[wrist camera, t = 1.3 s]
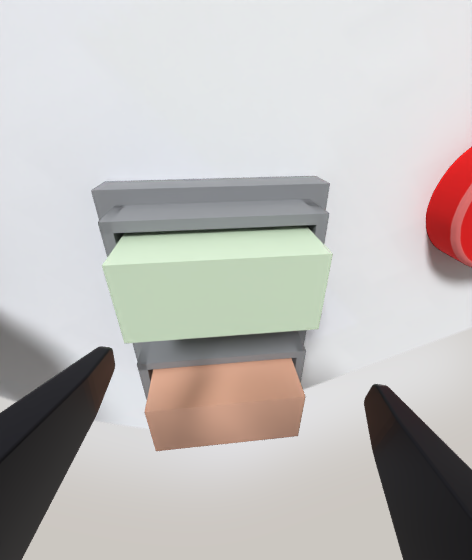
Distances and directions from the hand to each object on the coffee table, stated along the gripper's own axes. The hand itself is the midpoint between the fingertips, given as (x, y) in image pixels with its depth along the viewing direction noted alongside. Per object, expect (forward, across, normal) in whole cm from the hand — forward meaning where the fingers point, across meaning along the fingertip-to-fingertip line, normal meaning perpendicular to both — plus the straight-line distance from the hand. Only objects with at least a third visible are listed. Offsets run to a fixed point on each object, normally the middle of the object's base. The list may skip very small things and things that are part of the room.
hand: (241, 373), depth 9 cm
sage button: (+8, +2, 0) cm, 8 cm away
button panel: (+12, +2, +5) cm, 14 cm away
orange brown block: (+8, 0, +10) cm, 13 cm away
